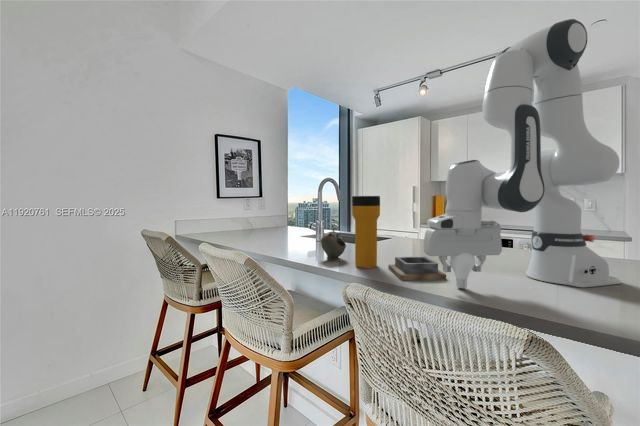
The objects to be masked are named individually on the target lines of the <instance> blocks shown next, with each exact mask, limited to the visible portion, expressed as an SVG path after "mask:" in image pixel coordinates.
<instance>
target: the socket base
mask: <svg viewBox="0 0 640 426" xmlns="http://www.w3.org/2000/svg"><path fill="white" fill-rule="evenodd" d="M388 270H389V271H390V272H391V273H392V274H393V275H395V277H396V278H398V279H399V280H400V281H422V280H423V281H426V280H427V281H428V280H432V281H434V280H435V281H436V280H437V281H438V280H440V281H441V280H447V274H446V273H445V272H444V271H441V270H439V263H438V262H436V261H434V260H432V259H430V258H428V257H427V256H395V257H394V264H388Z"/></svg>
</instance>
